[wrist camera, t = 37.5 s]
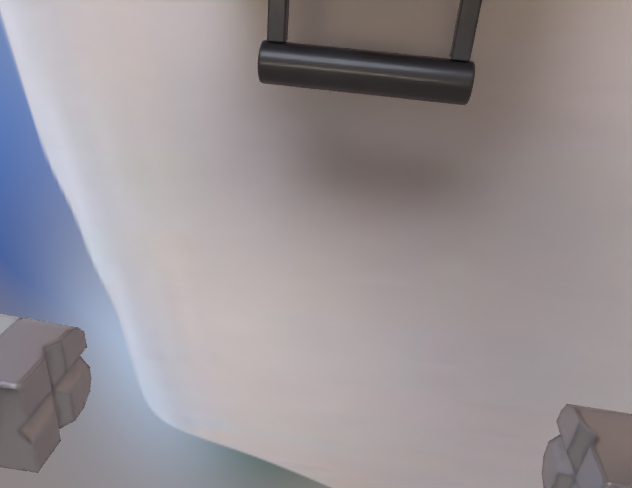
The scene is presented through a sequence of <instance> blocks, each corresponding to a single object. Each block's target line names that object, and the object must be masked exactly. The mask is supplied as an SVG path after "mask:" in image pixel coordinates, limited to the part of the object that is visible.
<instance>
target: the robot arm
mask: <svg viewBox="0 0 632 488" xmlns="http://www.w3.org/2000/svg"><path fill="white" fill-rule="evenodd" d="M86 348H87V344H86V339H85V334H84V331H82V330H81V329H79V328H78V327H73V326H67V325H62V324H57V323H51V322H46V321H40V320H34V319H29V318H21V317H14V316H9V315H4V314H0V467H3V468H10V469H17V470H23V471H30V472H37V473H38V472H39V471H40V469H41V468H42V466H43V465H44V464H45V462H46V461H47V459H48V458H49V457H50V455H51V454H52V452H53V451H54V450H55V448H56V447H57V445H58V444H59V443H60V441H61V438H60V430H59V429H60V428H62V427H64V426H66V425H68V424H69V423H72V422H73V421H75V420H76V418H77V417H78V416H79V414H80V413H81V411H82V410H83V408H84V406H85V404H86V401H87V398H88V395H89V392H90V386H91V373H90V367H89V365H88V364H87V363H86V362H85V361H84V360H83V359H82V357H81V356H80V355H81V354H82V352H83V351H84V350H85V349H86ZM556 422H557V425H558V428H559V431H560V435H558V436H557V437H555V438H554V439H552V440H550V441H549V442H548V445H547V448H546V451H545V453H544V456H543V466H542V480H543V488H632V414H629V413H624V412H618V411H611V410H604V409H598V408H591V407H584V406H578V405H571V404H566V405H565V407H564V408H563V409H562V410H561V412H560V414H559V417H558V419H557V421H556Z"/></svg>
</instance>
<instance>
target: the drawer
mask: <svg viewBox="0 0 632 488" xmlns="http://www.w3.org/2000/svg"><path fill="white" fill-rule="evenodd" d="M481 2H482V0H460V3H459V8H458V14H457V19H456V25H455V30H454V36H453V41H452V46H451V52H450V58H451V59H448V58H438V57H428V56H418V55H408V54H398V53H389V52H379V51H369V50H359V49H349V48H339V47H330V46H320V45H310V44H300V43H290V42H286V41H287V39H288V19H289V0H268V27H267V40H264V41H263V42H262V44H261V46H260V50H259V56H258V76H259V80H260V82H261V83H265V84H274V85H283V86H293V87H302V88H311V89H320V90H329V91H339V92H348V93H357V94H366V95H376V96H385V97H394V98H403V99H413V100H422V101H431V102H440V103H450V104H459V105H466V104H467V103H468V101H469V99H470V96H471V92H472V88H473V83H474V76H475V64H474V62H473V61H469V60H470V57H471V52H472V47H473V42H474V37H475V32H476V27H477V22H478V17H479V12H480V7H481Z"/></svg>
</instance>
